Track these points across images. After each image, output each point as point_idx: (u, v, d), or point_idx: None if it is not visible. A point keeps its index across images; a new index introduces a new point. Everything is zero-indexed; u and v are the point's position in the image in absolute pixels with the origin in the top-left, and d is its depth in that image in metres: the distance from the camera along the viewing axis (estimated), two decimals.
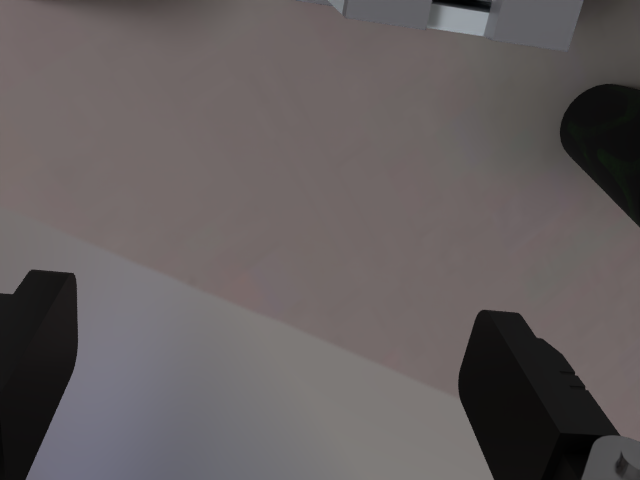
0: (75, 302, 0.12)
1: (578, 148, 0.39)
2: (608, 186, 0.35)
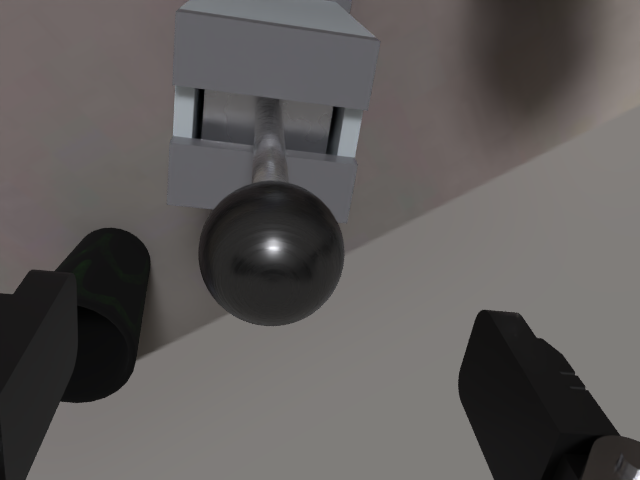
0: (75, 302, 0.12)
1: (89, 245, 0.43)
2: None
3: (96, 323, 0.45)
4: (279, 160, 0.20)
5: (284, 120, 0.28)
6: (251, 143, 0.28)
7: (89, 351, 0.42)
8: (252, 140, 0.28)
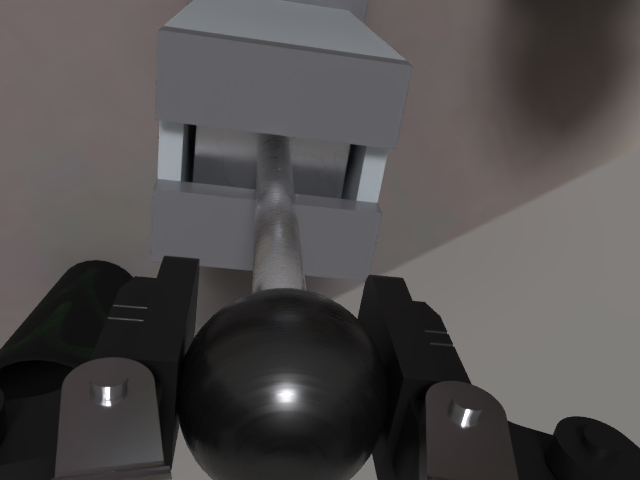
0: (197, 285, 0.13)
1: (70, 282, 0.38)
2: (31, 320, 0.34)
3: None
4: (289, 227, 0.15)
5: (292, 156, 0.23)
6: (253, 183, 0.24)
7: None
8: (254, 180, 0.24)
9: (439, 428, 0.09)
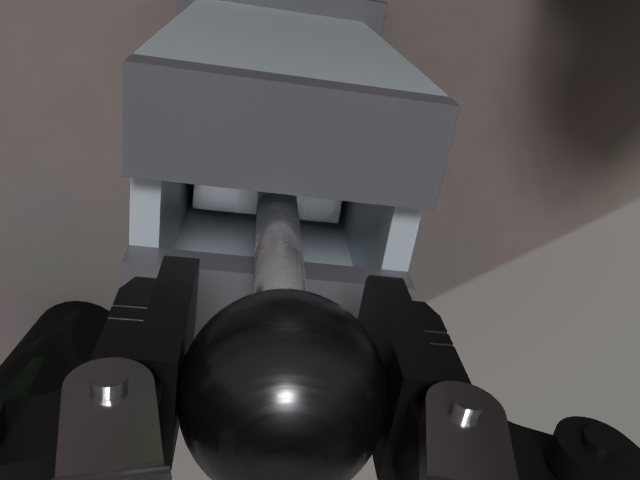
0: (197, 285, 0.13)
1: (45, 330, 0.34)
2: None
3: None
4: (290, 228, 0.15)
5: None
6: None
7: None
8: None
9: (439, 428, 0.09)
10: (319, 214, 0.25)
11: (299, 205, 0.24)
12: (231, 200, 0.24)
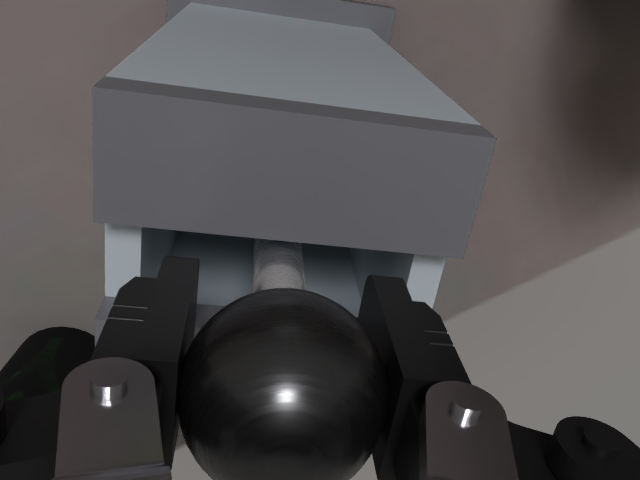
0: (197, 285, 0.13)
1: (26, 361, 0.31)
2: None
3: None
4: None
5: None
6: None
7: None
8: None
9: (439, 428, 0.09)
10: None
11: None
12: None
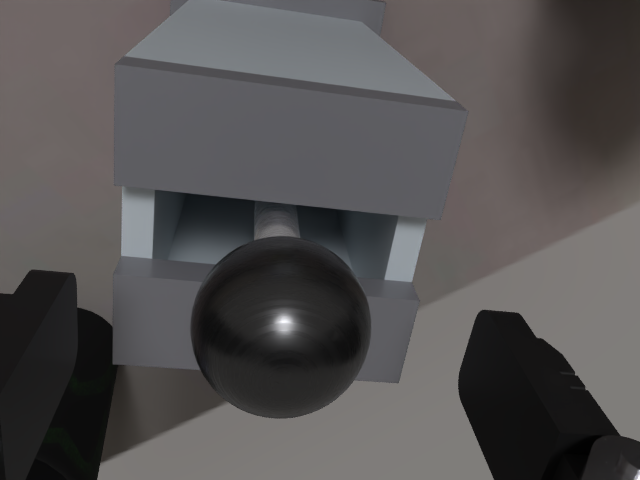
0: (75, 302, 0.12)
1: None
2: None
3: None
4: None
5: None
6: None
7: None
8: None
9: (599, 477, 0.08)
10: None
11: None
12: None
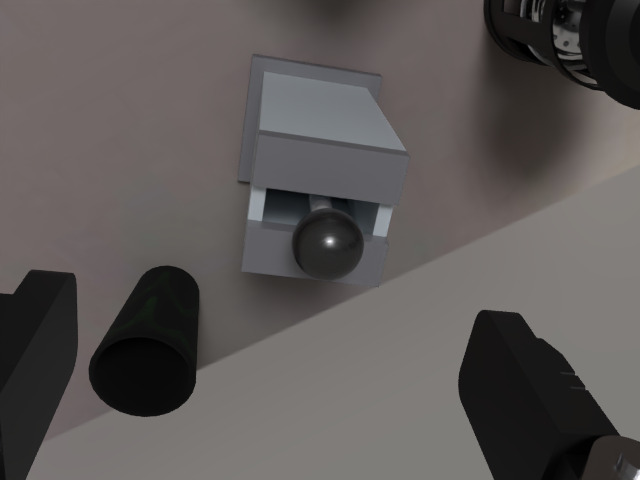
0: (75, 302, 0.12)
1: (152, 282, 0.51)
2: (130, 309, 0.47)
3: (155, 347, 0.52)
4: None
5: None
6: None
7: (151, 372, 0.50)
8: None
9: (599, 477, 0.08)
10: None
11: None
12: None
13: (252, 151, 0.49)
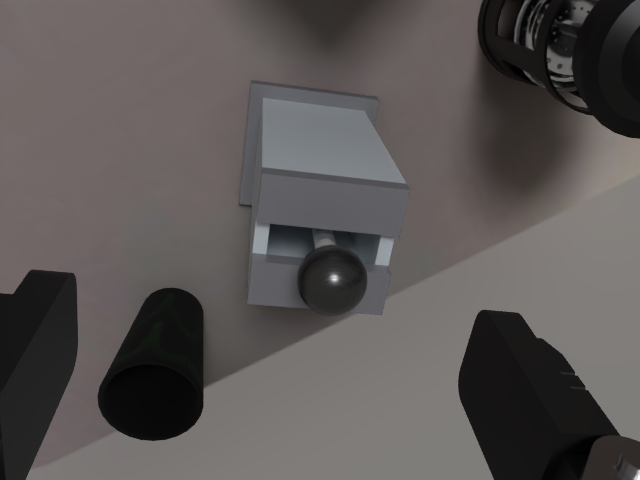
0: (75, 302, 0.12)
1: (157, 306, 0.52)
2: (136, 335, 0.48)
3: (161, 369, 0.53)
4: None
5: None
6: None
7: (159, 395, 0.51)
8: None
9: (599, 477, 0.08)
10: None
11: None
12: None
13: (252, 175, 0.50)
